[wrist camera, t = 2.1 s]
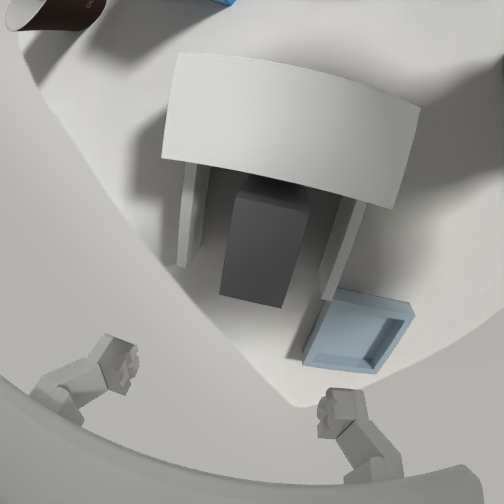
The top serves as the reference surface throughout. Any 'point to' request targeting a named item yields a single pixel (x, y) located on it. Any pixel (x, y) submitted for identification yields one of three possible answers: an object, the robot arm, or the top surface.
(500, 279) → the top surface
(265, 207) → the upright charcoal rectangular block
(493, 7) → the top surface
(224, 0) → the ink box
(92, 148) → the top surface
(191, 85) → the bay
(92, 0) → the coffee mug
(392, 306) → the tray
